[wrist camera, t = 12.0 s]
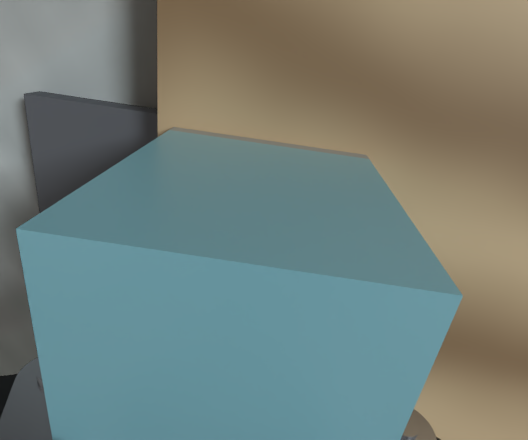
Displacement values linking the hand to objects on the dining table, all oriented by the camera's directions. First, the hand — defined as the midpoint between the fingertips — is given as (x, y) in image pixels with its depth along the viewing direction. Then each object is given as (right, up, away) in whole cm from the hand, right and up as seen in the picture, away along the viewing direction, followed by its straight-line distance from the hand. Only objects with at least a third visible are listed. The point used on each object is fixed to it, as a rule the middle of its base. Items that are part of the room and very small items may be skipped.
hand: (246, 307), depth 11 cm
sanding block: (0, 0, 0) cm, 0 cm away
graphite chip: (-4, +5, +1) cm, 6 cm away
